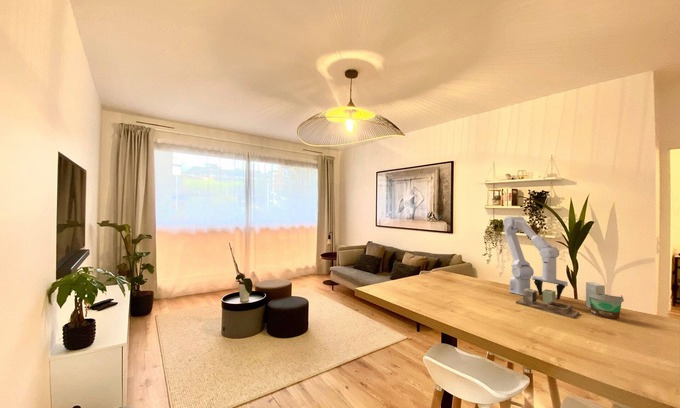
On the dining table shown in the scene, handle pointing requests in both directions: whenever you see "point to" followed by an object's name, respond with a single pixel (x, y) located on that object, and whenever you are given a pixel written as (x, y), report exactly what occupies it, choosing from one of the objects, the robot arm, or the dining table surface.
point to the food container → (605, 305)
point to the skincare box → (593, 290)
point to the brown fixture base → (553, 307)
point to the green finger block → (548, 296)
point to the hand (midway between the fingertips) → (549, 296)
